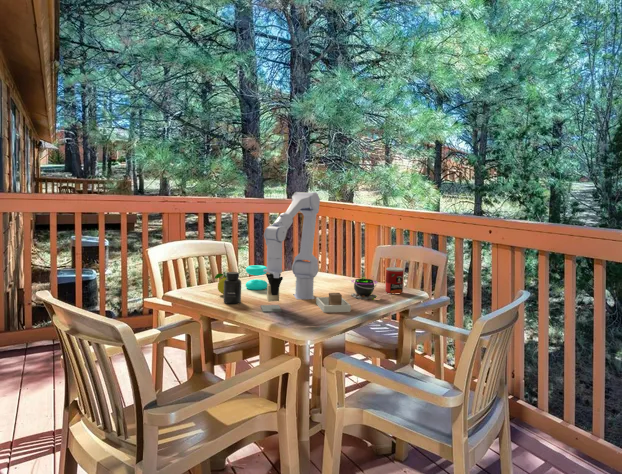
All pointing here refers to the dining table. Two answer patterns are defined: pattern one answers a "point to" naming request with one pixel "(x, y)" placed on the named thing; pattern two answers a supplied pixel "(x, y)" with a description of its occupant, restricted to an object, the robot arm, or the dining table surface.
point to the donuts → (256, 283)
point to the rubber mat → (271, 308)
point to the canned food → (394, 280)
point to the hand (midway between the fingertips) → (273, 293)
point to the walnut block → (335, 299)
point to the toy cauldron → (364, 288)
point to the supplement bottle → (232, 288)
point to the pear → (221, 282)
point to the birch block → (269, 294)
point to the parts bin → (325, 307)
